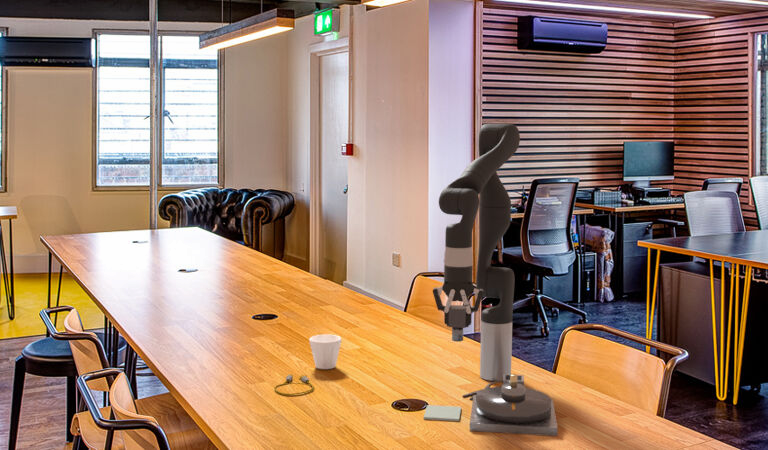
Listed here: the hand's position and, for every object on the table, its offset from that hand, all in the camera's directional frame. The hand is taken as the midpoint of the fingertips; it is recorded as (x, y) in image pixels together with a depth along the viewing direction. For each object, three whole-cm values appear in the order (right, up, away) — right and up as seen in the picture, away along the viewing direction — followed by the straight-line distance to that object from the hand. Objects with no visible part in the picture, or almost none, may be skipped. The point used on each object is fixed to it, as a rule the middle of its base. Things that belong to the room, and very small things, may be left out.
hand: (457, 325), depth 210 cm
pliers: (+11, -21, +11) cm, 26 cm away
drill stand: (+13, -22, -10) cm, 28 cm away
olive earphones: (-45, -20, +15) cm, 52 cm away
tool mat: (-5, -22, -7) cm, 23 cm away
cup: (-38, -18, +34) cm, 54 cm away
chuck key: (0, -4, 0) cm, 4 cm away
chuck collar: (+13, -20, -9) cm, 26 cm away
